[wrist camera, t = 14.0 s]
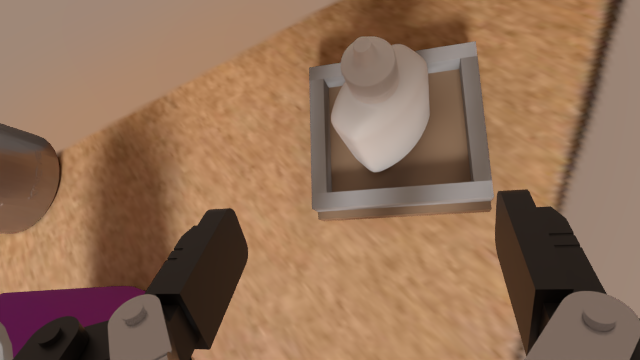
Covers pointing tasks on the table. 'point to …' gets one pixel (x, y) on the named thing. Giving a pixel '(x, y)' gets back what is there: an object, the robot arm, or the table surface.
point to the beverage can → (55, 311)
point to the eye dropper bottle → (381, 101)
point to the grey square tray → (421, 162)
